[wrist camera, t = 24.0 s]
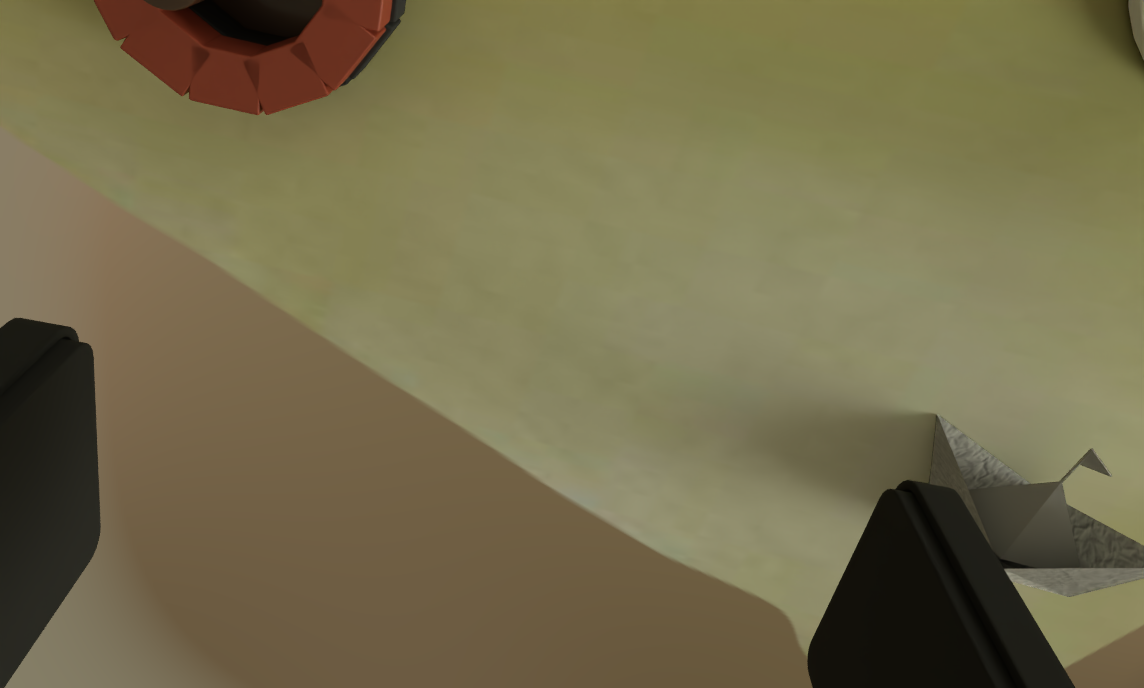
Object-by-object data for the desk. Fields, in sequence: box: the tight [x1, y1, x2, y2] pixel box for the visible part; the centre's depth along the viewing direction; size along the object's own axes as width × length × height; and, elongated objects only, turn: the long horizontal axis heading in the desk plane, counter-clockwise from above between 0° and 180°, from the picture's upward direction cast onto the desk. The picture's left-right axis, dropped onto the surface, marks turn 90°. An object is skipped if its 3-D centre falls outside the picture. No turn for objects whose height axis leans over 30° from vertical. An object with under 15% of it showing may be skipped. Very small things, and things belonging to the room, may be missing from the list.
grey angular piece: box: [929, 414, 1144, 597], centre depth 43 cm, size 12×6×9 cm
